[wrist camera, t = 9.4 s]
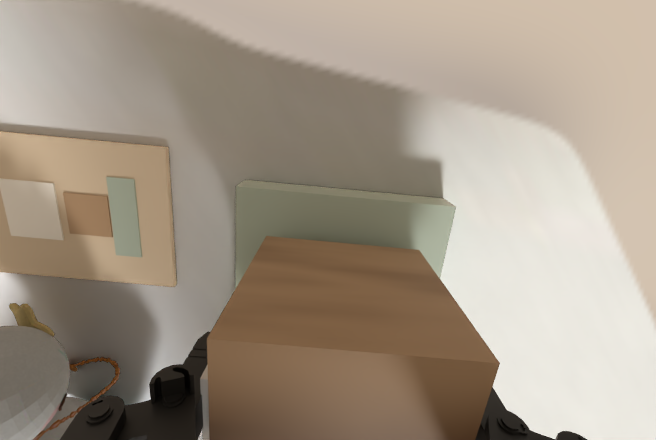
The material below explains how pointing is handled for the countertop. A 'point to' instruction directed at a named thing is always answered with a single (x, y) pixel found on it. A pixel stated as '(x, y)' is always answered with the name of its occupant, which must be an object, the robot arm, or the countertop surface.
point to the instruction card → (86, 209)
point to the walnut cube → (345, 349)
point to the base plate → (339, 219)
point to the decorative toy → (36, 381)
